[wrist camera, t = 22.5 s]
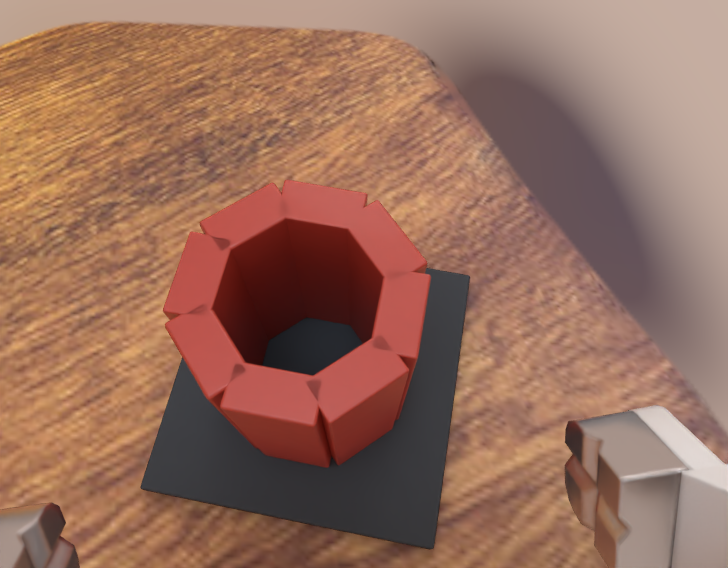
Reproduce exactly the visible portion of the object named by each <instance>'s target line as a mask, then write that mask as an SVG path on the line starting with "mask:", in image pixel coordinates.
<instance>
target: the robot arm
mask: <svg viewBox="0 0 728 568" xmlns="http://www.w3.org/2000/svg"><path fill="white" fill-rule="evenodd" d="M565 443H566V444H567V446H568V447H569V449H570V450H571V452H572V453H573V455H572V456H571V457H570V459H569V460H568V462H567V463H566V464H565V484H566V489H567V493H568V498H569V501H570V503H571V506H572V508H573V511H574V513H575V514H576V516H577V518H578V519H579V521H580V523H581V524H582V525H584V526H586V527H588V528H590V529H591V530H593V531H595V537H594V546H595V547H596V549H597V550H598V552H599V554H600V555H601V557H602V558H603V560H604V562H605V563H606V565H607V566H608V568H728V464H724V463H723V462H722V461H721V460H720V459H719V458H718V457H717V456H716V455H715V454H714V453H713V452H712V451H710V450H709V449H708V448H707V447H706V446H705V445H704V444H703V443H702V442H701V441H700V440H699V439H698V438H697V437H696V436H694V435H693V434H692V433H691V432H690V431H689V430H688V429H687V428H686V427H685V426H684V425H683V424H682V423H681V422H680V421H678V420H677V419H676V418H675V417H674V416H673V415H672V414H671V413H670V412H669V411H668V410H667V409H666V408H664V407H662V406H659V405H654V406H648V407H643V408H638V409H632V410H628V411H627V412H622V413H615V414H609V415H603V416H597V417H591V418H585V419H579V420H573V421H568V424H567V427H566V436H565ZM65 524H66V522H65V519H64V517H63V515H62V512H61V510H60V507H59V506H58V505H56V504H54V503H44V504H36V505H29V506H22V507H14V508H7V509H0V568H80V566H79V559H78V555H77V552H76V549H75V547H74V545H73V544H71V543H70V542H68V541H67V540H65V539H64V538H62V537H61V536H60V535H61V532H62V530H63V528H64V526H65Z"/></svg>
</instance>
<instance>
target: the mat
mask: <svg viewBox="0 0 728 568" xmlns="http://www.w3.org/2000/svg"><path fill="white" fill-rule="evenodd" d="M425 274H429V275H430V276H431V281H430V287H429V293H428V299H427V305H426V312H425V318H424V324H423V330H422V336H421V342H420V348H419V354H418V359H417V362H416V365H415V368H414V372H413V375H412V378H411V381H410V384H409V387H408V391H407V394H406V397H405V400H404V403H403V406H402V410H401V413H400V416H399V419H398V420H395V422H394V425H393V428H392V430H390V431H389V432H387V433H386V434H384V435H383V436H381V437H380V438H379V439H377V440H376V441H374V442H373V443H371V444H370V445H368V446H367V447H365V448H364V449H363V450H361V451H360V452H358V453H357V454H355V455H354V456H352V457H351V458H350V459H348V460H347V461H345V462H344V463H342V464H341V465H337V464H336V462H335V460H334V459H333V457H332V456H331V460H330V465H329V467H327V468H325V467H320V466H315V465H310V464H306V463H301V462H296V461H291V460H286V459H281V458H276V457H271V456H266V455H264V454H263V453H262V452H261V451H260V450H259V448H255V447H254V446H253V445H252V444H251V443H250V442H249V441H248V440H247V439H246V438H245V437H244V436H243V435H242V434H241V433H240V432H239V431H238V430H237V429H236V428H235V427H234V426H233V425H232V424H231V423H230V422H229V421H228V420H227V419H226V418H225V417H224V416H223V415H222V414H221V413H220V412H219V411H218V410H217V409H216V408H215V407H214V406H213V405H212V403H211V402H210V401H209V400H208V399H207V398H206V397H205V395H204V393H203V392H202V390H201V388H200V386H199V385H198V383H197V381H196V380H195V378H194V376H193V374H192V373H191V371H190V369H189V367H188V366H187V364H186V362H185V361H184V359H183V357H182V360H181V363H180V366H179V369H178V373H177V376H176V379H175V382H174V385H173V388H172V391H171V394H170V397H169V400H168V403H167V407H166V410H165V413H164V416H163V419H162V422H161V425H160V428H159V431H158V434H157V437H156V441H155V444H154V447H153V450H152V453H151V456H150V459H149V462H148V465H147V468H146V471H145V474H144V478H143V481H142V484H141V489H143V490H147V491H151V492H156V493H161V494H166V495H171V496H175V497H180V498H185V499H190V500H195V501H200V502H204V503H209V504H214V505H219V506H224V507H228V508H233V509H238V510H243V511H248V512H253V513H257V514H262V515H267V516H272V517H277V518H281V519H286V520H291V521H296V522H301V523H306V524H310V525H315V526H320V527H325V528H330V529H334V530H339V531H344V532H349V533H354V534H359V535H363V536H368V537H373V538H378V539H383V540H387V541H392V542H397V543H402V544H407V545H412V546H416V547H421V548H426V549H433V548H434V543H435V535H436V528H437V521H438V513H439V506H440V498H441V491H442V483H443V476H444V468H445V461H446V453H447V446H448V438H449V431H450V423H451V416H452V408H453V401H454V393H455V386H456V378H457V371H458V363H459V356H460V348H461V341H462V333H463V326H464V318H465V311H466V303H467V296H468V288H469V281H470V276H468V275H463V274H457V273H452V272H446V271H440V270H435V269H429V268H426V271H425ZM362 344H363V343H362V341H361V340H360V339H359V337H358V336H357V334H356V333H355V332H354V330H353V329H352V327H351V326H350V325H346V324H340V323H335V322H330V321H324V320H319V319H314V318H308V317H306V318H304V319H303V320H301V321H299V322H298V323H296V324H295V325H293V326H291V327H290V328H288V329H286V330H285V331H283V332H282V333H280V334H278V335H277V336H275V337H273V338H272V339H270V340H269V342H268V345H267V349H266V353H265V357H264V360H263V364H262V366H266V367H271V368H277V369H282V370H287V371H292V372H297V373H303V374H308V375H315V374H316V373H318V372H320V371H321V370H323V369H324V368H326V367H327V366H329V365H330V364H332V363H334V362H335V361H337V360H338V359H340V358H341V357H343V356H344V355H346V354H348V353H349V352H351V351H352V350H354V349H355V348H357V347H358V346H360V345H362Z"/></svg>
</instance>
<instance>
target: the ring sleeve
mask: <svg viewBox="0 0 728 568" xmlns="http://www.w3.org/2000/svg"><path fill="white" fill-rule="evenodd" d="M200 226H201V228H202V230H203V233H204V234H202V233H197V232H190V234H189V237H188V240H187V242H186V245H185V248H184V251H183V254H182V257H181V260H180V262H179V265H178V268H177V271H176V274H175V277H174V280H173V282H172V285H171V288H170V291H169V294H168V297H167V299H166V302H165V305H164V308H163V312H164V313H165V314H166V316H167V317H168V318H169V319H170V321H168V322H167V323H166V324H165V328H166V329H167V331H168V333H169V335H170V336H171V338H172V340H173V341H174V343H175V345H176V347H177V348H178V350H179V352H180V354H181V355H182V357H183V359H184V361H185V362H186V364H187V366H188V367H189V369H190V371H191V373H192V374H193V376H194V378H195V380H196V381H197V383H198V385H199V386H200V388H201V390H202V392H203V393H204V395H205V397H206V398H207V399H208V400H209V401H210V402H211V403H212V405H213V406H214V407H215V408H216V409H217V410H218V411H219V412H220V413H221V414H222V415H223V416H224V417H225V418H226V419H227V420H228V421H229V422H230V423H231V424H232V425H233V426H234V427H235V428H236V429H237V430H238V431H239V432H240V433H241V434H242V435H243V436H244V437H245V438H246V439H247V440H248V441H249V442H250V443H251V444H252V445H253V446H254V447H255V448H259V450H260V451H261V452H262V453H263V454H264V455H266V456H271V457H276V458H281V459H286V460H291V461H296V462H301V463H306V464H310V465H315V466H320V467H325V468H327V467H329V465H330V460H331V456H332V457H333V459H334V460H335V462H336V464H337V465H341V464H342V463H344V462H345V461H347V460H348V459H350V458H351V457H352V456H354V455H355V454H357V453H358V452H360V451H361V450H363V449H364V448H365V447H367V446H368V445H370V444H371V443H373V442H374V441H376V440H377V439H379V438H380V437H381V436H383V435H384V434H386V433H387V432H389V431H390V430H392V428H393V425H394V422H395V420H398V419H399V416H400V413H401V410H402V406H403V403H404V400H405V397H406V394H407V391H408V387H409V384H410V381H411V378H412V375H413V372H414V368H415V365H416V362H417V359H418V354H419V348H420V342H421V336H422V330H423V324H424V318H425V312H426V305H427V299H428V293H429V287H430V281H431V276H430V275H429V274H425V271H426V267H427V261H426V260H425V259H424V257H423V256H422V255H421V254H420V252H419V251H418V250H417V249H416V247H415V246H414V245H413V244H412V242H411V241H410V240H409V238H408V237H407V236H406V235H405V233H404V232H403V231H402V230H401V228H400V227H399V226H398V225H397V223H396V222H395V221H394V220H393V218H392V217H391V216H390V214H389V213H388V212H387V211H386V209H385V208H384V207H383V206H382V204H381V203H380V202H379V201H378V200H376V201H374V202H373V203H371V204H369V205H368V206H367V194H366V193H362V192H356V191H350V190H344V189H338V188H333V187H327V186H321V185H315V184H309V183H303V182H298V181H292V180H285V182H284V185H283V189H282V192H280V190H279V189H278V188H277V186H276V185H275V184H274V183H270V184H268V185H267V186H265V187H263V188H261V189H259V190H257V191H256V192H254V193H252V194H250V195H248V196H246V197H245V198H243V199H241V200H239V201H237V202H235V203H234V204H232V205H230V206H228V207H226V208H224V209H222V210H221V211H219V212H217V213H215V214H213V215H211V216H210V217H208V218H206V219H204V220H202V221H201V222H200ZM306 317H308V318H314V319H319V320H324V321H330V322H335V323H340V324H346V325H350V326H351V327H352V329H353V330H354V332H355V333H356V334H357V336H358V337H359V339H360V340H361V341H362V343H363V344H362V345H360V346H358V347H357V348H355V349H354V350H352V351H351V352H349V353H348V354H346V355H344V356H343V357H341V358H340V359H338V360H337V361H335V362H334V363H332V364H330V365H329V366H327V367H326V368H324V369H323V370H321V371H320V372H318V373H316V374H315V375H308V374H303V373H297V372H292V371H287V370H282V369H277V368H271V367H266V366H262V364H263V360H264V357H265V353H266V349H267V345H268V342H269V340H270V339H272V338H273V337H275V336H277V335H278V334H280V333H282V332H283V331H285V330H286V329H288V328H290V327H291V326H293V325H295V324H296V323H298V322H299V321H301V320H303V319H304V318H306Z"/></svg>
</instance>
